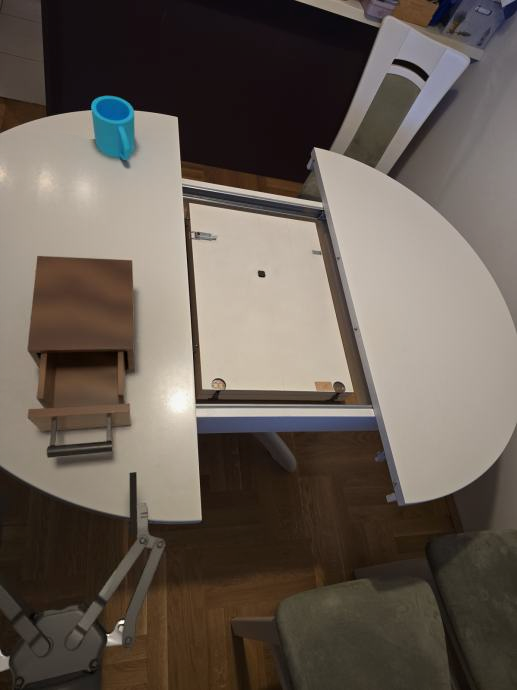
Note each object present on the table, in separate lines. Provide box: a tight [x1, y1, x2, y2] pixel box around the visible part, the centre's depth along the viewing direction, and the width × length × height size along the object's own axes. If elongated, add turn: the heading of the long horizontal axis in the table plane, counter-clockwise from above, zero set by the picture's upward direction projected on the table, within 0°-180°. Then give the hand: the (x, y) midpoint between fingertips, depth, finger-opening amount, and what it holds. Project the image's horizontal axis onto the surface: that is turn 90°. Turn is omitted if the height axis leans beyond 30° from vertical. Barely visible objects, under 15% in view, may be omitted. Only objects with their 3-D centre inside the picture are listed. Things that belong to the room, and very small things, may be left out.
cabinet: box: [27, 255, 135, 373], centre depth 62 cm, size 16×14×10 cm
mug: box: [90, 95, 136, 161], centre depth 82 cm, size 12×8×8 cm
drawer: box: [27, 351, 132, 459], centre depth 58 cm, size 20×13×8 cm, turn 8°
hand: (69, 480), depth 43 cm, fingers open, 13 cm apart
